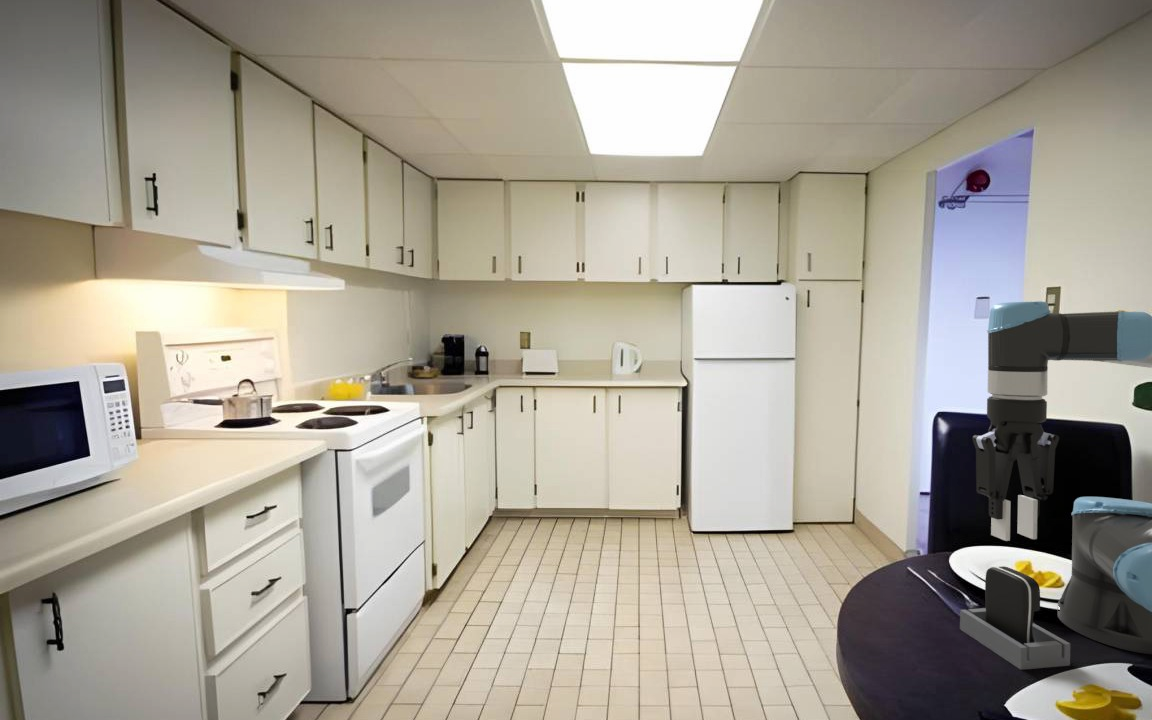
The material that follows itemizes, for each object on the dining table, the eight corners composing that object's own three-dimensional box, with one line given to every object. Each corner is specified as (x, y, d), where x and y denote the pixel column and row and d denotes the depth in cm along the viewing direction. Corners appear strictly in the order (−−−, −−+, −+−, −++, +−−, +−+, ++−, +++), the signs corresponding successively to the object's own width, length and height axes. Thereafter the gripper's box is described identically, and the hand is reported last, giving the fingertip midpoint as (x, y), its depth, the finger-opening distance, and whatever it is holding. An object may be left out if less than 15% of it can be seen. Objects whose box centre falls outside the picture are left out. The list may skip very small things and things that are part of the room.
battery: (1043, 648, 85) (1045, 579, 85) (1024, 651, 84) (1026, 581, 84) (1000, 625, 92) (1001, 561, 92) (983, 628, 91) (984, 563, 91)
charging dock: (1003, 625, 94) (1004, 606, 94) (1069, 665, 83) (1070, 643, 83) (959, 629, 94) (960, 609, 93) (1020, 669, 82) (1021, 647, 82)
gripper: (1041, 392, 91) (1038, 526, 92) (949, 395, 89) (947, 531, 90) (1087, 397, 83) (1084, 542, 84) (988, 400, 82) (985, 548, 83)
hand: (1013, 536), depth 87 cm, fingers open, 4 cm apart
